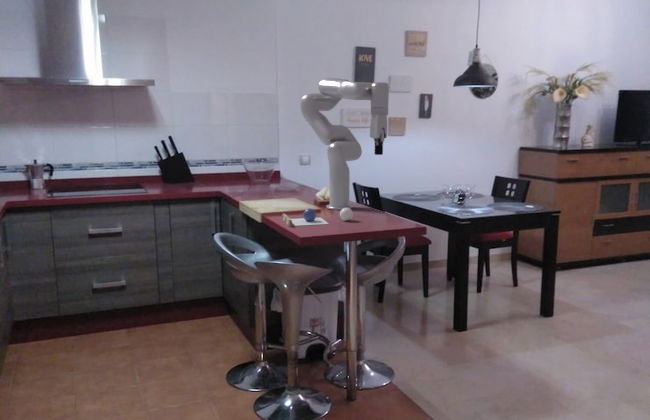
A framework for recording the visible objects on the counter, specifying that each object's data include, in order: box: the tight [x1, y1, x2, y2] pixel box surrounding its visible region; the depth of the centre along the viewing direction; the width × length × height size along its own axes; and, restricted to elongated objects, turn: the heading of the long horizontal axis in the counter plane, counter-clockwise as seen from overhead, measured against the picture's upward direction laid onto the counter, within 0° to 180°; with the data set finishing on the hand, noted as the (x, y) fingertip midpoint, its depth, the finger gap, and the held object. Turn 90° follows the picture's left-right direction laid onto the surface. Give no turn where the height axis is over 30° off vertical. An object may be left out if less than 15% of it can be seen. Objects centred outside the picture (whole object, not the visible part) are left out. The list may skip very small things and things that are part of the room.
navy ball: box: [302, 207, 317, 222], centre depth 223 cm, size 6×6×6 cm
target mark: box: [290, 217, 330, 227], centre depth 223 cm, size 14×14×1 cm
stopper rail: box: [282, 213, 293, 228], centre depth 220 cm, size 16×1×2 cm, turn 14°
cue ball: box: [339, 208, 354, 222], centre depth 224 cm, size 6×6×6 cm
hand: (378, 154), depth 233 cm, fingers closed
